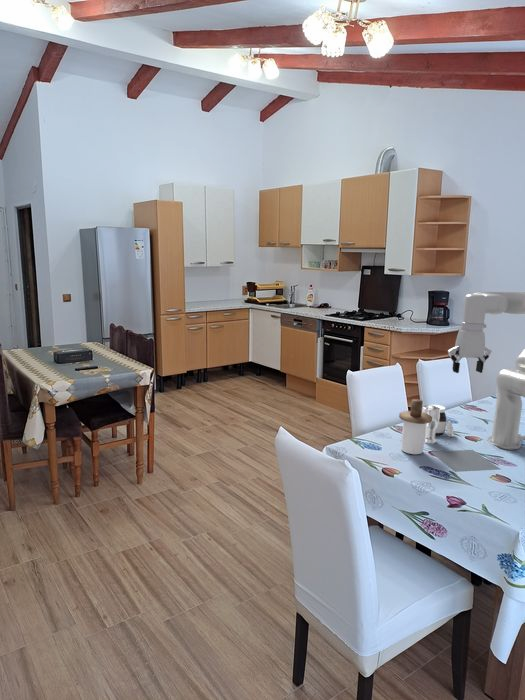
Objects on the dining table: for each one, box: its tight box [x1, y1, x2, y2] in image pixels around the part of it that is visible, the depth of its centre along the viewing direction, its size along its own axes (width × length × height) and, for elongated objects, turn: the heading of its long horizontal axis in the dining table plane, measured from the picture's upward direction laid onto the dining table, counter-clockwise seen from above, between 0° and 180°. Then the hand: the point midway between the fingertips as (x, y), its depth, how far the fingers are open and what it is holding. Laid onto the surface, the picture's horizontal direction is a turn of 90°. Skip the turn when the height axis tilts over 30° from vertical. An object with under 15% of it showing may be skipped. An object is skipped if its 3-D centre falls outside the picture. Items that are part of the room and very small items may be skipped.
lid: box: [398, 398, 432, 424], centre depth 196 cm, size 12×12×7 cm
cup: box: [401, 420, 426, 455], centre depth 198 cm, size 8×8×14 cm
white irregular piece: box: [433, 404, 454, 438], centre depth 221 cm, size 12×11×12 cm
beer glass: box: [422, 404, 440, 444], centre depth 210 cm, size 7×7×15 cm
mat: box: [430, 449, 501, 473], centre depth 193 cm, size 18×18×1 cm
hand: (467, 372), depth 196 cm, fingers open, 9 cm apart
